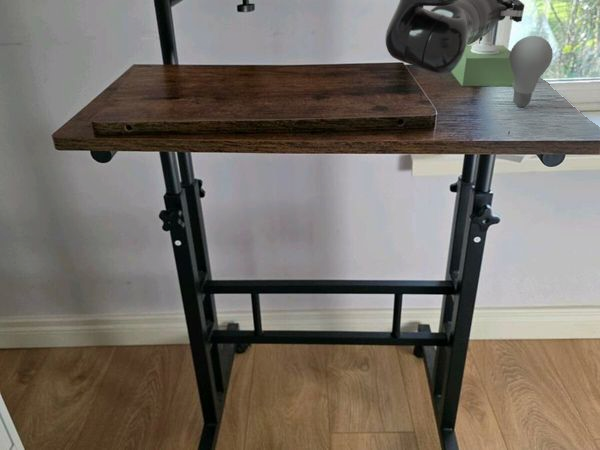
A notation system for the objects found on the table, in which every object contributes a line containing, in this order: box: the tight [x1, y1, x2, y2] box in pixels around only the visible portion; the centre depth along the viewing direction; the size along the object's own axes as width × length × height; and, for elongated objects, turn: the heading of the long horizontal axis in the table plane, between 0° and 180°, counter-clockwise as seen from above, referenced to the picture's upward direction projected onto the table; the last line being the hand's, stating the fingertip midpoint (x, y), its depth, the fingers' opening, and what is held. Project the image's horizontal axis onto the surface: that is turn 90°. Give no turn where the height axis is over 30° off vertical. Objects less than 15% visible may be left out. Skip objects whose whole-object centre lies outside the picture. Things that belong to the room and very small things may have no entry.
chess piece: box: [471, 29, 499, 55], centre depth 94 cm, size 5×5×10 cm
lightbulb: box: [509, 35, 554, 108], centre depth 83 cm, size 6×6×11 cm
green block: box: [450, 44, 514, 87], centre depth 98 cm, size 9×9×5 cm
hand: (497, 1), depth 94 cm, fingers open, 3 cm apart
